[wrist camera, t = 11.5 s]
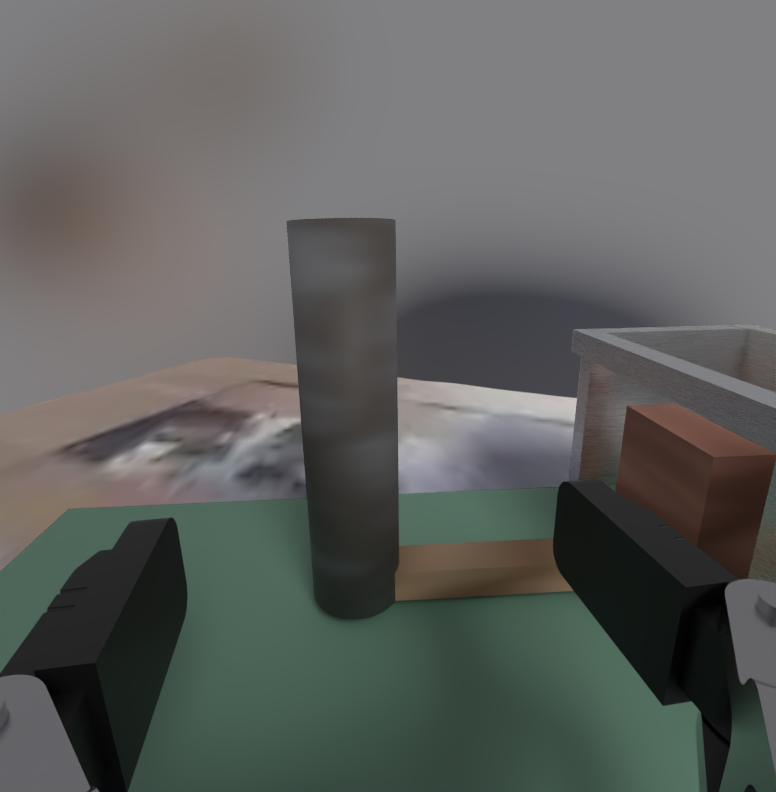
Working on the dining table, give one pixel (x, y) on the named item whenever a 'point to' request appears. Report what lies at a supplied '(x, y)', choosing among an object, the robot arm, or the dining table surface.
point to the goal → (677, 396)
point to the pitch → (372, 664)
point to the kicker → (378, 449)
